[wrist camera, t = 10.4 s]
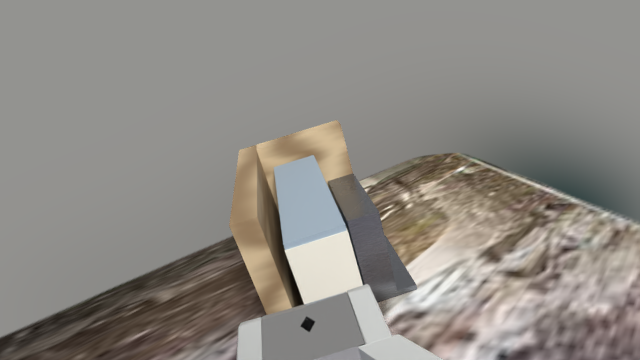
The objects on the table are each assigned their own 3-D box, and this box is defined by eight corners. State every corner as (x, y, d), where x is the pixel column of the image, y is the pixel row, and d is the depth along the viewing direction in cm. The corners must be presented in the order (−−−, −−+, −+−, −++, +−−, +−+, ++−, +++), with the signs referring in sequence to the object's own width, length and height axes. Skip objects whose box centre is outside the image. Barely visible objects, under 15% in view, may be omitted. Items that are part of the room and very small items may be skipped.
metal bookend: (370, 304, 39) (347, 221, 35) (348, 251, 48) (328, 181, 44) (417, 289, 39) (399, 204, 35) (386, 239, 48) (369, 168, 44)
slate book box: (332, 382, 32) (282, 245, 26) (308, 270, 47) (273, 167, 41) (385, 365, 32) (346, 224, 27) (344, 258, 47) (314, 154, 41)
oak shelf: (295, 382, 33) (229, 225, 27) (282, 263, 49) (239, 150, 43) (422, 339, 33) (386, 176, 27) (366, 236, 50) (336, 120, 44)
